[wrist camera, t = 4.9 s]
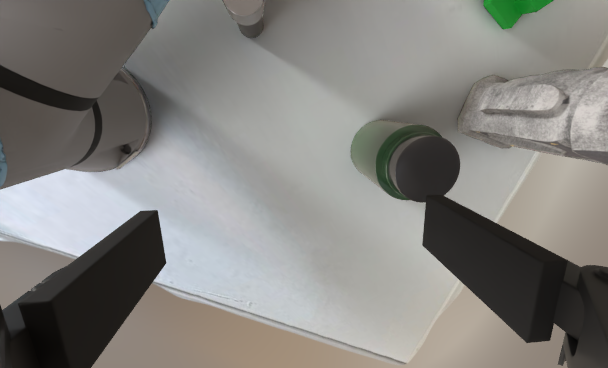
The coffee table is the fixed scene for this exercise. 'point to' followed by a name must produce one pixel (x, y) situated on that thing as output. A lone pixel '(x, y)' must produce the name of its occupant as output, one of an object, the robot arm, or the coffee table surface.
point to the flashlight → (247, 15)
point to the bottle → (405, 159)
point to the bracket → (512, 10)
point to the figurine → (542, 113)
